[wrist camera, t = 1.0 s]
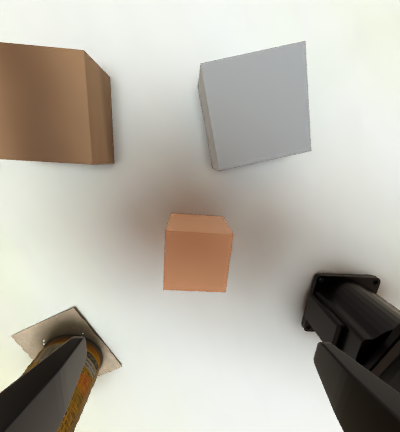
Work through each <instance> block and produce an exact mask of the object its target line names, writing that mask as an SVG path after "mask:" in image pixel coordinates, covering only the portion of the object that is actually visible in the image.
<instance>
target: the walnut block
mask: <svg viewBox="0 0 400 432" xmlns="http://www.w3.org/2000/svg"><path fill="white" fill-rule="evenodd" d="M0 159H8V160H25V161H42V162H58V163H75V164H92V165H93V164H110V163H114V149H113V128H112V108H111V88H110V77H109V76H108V75H107V74H106V73H105V72H104V71H103V70H102V69H101V67H100V66H99V65H98V64H97V63H96V62H95V61H94V60H93V59H92V58H91V57H90V56H89V55H88V54H87V53H86V52H85V51H84V50H76V49H66V48H55V47H45V46H34V45H24V44H13V43H3V42H0Z"/></svg>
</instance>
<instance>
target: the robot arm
mask: <svg viewBox="0 0 400 432" xmlns="http://www.w3.org/2000/svg"><path fill="white" fill-rule="evenodd" d="M320 278H321V279H320ZM319 279H320V280H319ZM379 285H380V279H379V278H377V277H376V276H368V275H346V274H324V273H319V274H316V275H315V276H314V279H313V283H312V287H311V291H310V295H309V298H308V302H307V306H306V310H305V314H304V318H303V322H302V327H303V328H304V330H305V331H312V332H316V333H317V335H318V336H319V337H320V339H321V340H322V342H319V343H318V345H317V348H316V352H315V355H314V363H315V366H316V369H317V371H318V374H319V376H320V379H321V381H322V384H323V386H324V389H325V391H326V394H327V396H328V398H329V401H330V403H331V406H332V408H333V410H334V413H335V415H336V417H337V419H338V421H339V423H340V425H341V427H342V429H343V431H344V432H400V311H399V310H398V309H397V308H395V307H394V306H392V305H391V304H390V303H388V302H387V301H385V300H384V299H383V298H381V297H380V296H379V295H377V294H376V293H377V290H378V288H379ZM86 357H87V350H86V340H85V338H84V337H72V338H70V339H69V340H68V341H66V342H65V343H64V344H63V345H61V346H60V347H59V348H57V349H56V350H55V351H54V352H52V353H51V354H50V355H48V356H47V357H46V358H44V359H43V360H42V361H41V362H39V363H38V364H37V365H35V366H34V367H33V368H32V369H30V370H29V371H28V372H26V373H25V374H24V375H22V376H21V377H20V378H19V379H17V380H16V381H15V382H13V383H12V384H11V385H10V386H8V387H7V388H6V389H4V390H3V391H2V392H0V432H57V430H58V428H59V426H60V424H61V422H62V420H63V418H64V415H65V413H66V411H67V408H68V406H69V403H70V401H71V398H72V395H73V393H74V390H75V387H76V385H77V382H78V380H79V377H80V374H81V372H82V369H83V366H84V364H85V361H86Z"/></svg>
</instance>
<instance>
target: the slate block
mask: <svg viewBox="0 0 400 432" xmlns="http://www.w3.org/2000/svg"><path fill="white" fill-rule="evenodd" d="M198 90H199V96H200V101H201V107H202V112H203V118H204V123H205V129H206V134H207V140H208V145H209V150H210V156H211V161H212V167H213V168H214V169H216V170H219V171H220V170H224V169H229V168H234V167H238V166H243V165H248V164H252V163H257V162H262V161H266V160H271V159H276V158H281V157H285V156H290V155H295V154H299V153H304V152H309V151H311V139H310V119H309V100H308V81H307V62H306V43H305V41H303V42H298V43H293V44H289V45H284V46H280V47H275V48H270V49H266V50H261V51H256V52H252V53H247V54H243V55H238V56H233V57H229V58H224V59H220V60H215V61H210V62H206V63H201V65H200V73H199V81H198Z"/></svg>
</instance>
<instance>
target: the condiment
mask: <svg viewBox="0 0 400 432" xmlns="http://www.w3.org/2000/svg"><path fill="white" fill-rule="evenodd" d="M82 333H84V334H82ZM11 337H12V338H13V339H14V340H15V341H16V342H17V344H19V345H20V346H21V347H22V349H23V350H24V351H25V352H27V353H28V354H29V356H30V357H31V358H32V359H34V360H33V361H32V363H31V364H30V365H29V366H28V368H27V369H26V370H25V372H24V373H23V375H24V374H25V373H26V372H28V371H29V370H30V369H32V368H33V367H34V366H35V365H37V364H38V363H39V362H41V361H42V360H43V359H44V358H46V357H47V356H48V355H50V354H51V353H52V352H54V351H55V350H56V349H57V348H59V347H60V346H61V345H63V344H64V343H65V342H66V341H68V340H69V339H70V338H72V337H84V338H85V340H86V350H87V357H86V361H85V364H84V366H83V369H82V372H81V374H80V377H79V380H78V382H77V385H76V387H75V390H74V393H73V395H72V398H71V401H70V403H69V406H68V408H67V411H66V413H65V415H64V418H63V420H62V422H61V424H60V426H59V428H58V430H57V432H74V430H75V427H76V424H77V422H78V421H79V419H80V415H81V413H82V412H83V409H84V406H85V404H86V402H87V400H88V397H89V394H90V392H91V389H92V387H93V386H94V383H95V381H96V378H97V376H99V375H102V374H104V373H107V372H110V371H113V370H115V369H117V368H120V367H122V366H121V365H120V363H119V362H118V361H117V359H116V358H115V357H114V355H113V354H112V353H111V352H110V350H109V349H108V348H107V346H106V345H105V344H104V343H103V341H101V340H100V339H99V337H98V336H97V335H95V333H94V332H93V330H92V329H91V328H90V327H89V325H88V324H87V322H86V321H85V320H84V319H83V318H82V317H81V316H80V315H79V314H78V312H77V311H76V310H75V309H74V308H72V309H70V310H68V311H64V312H62V313H60V314H58V315H56V316H53V317H51V318H49V319H46V320H44V321H42V322H40V323H37V324H35V325H34V326H32V327H29V328H27V329H25V330H23V331H21V332H19V333H17V334H15V335H12V336H11ZM43 339H45V342H43ZM43 343H45V345H43Z"/></svg>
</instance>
